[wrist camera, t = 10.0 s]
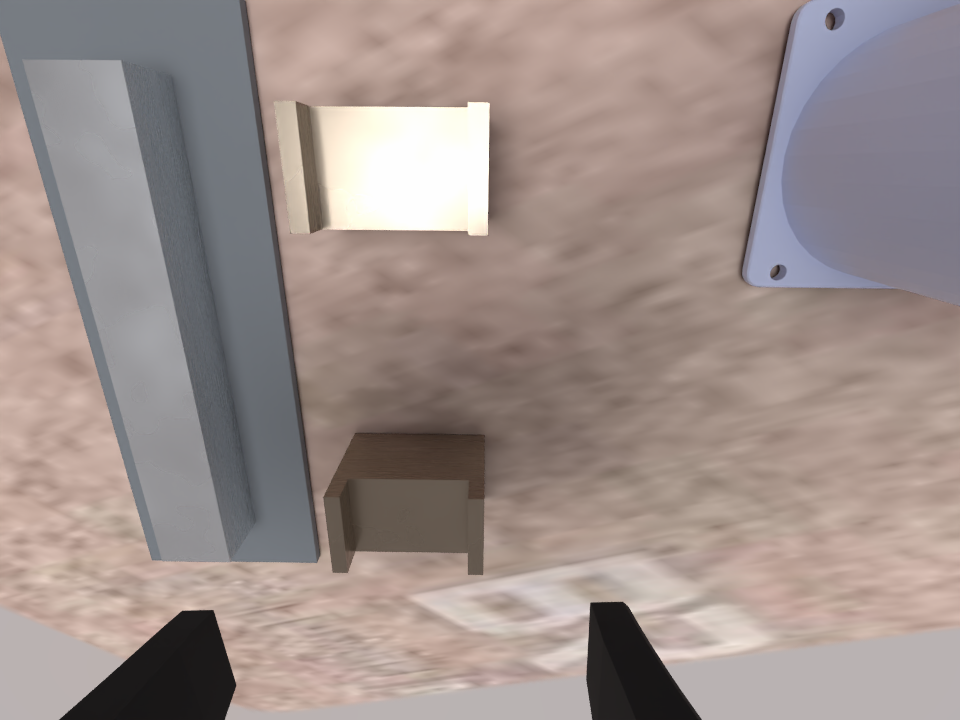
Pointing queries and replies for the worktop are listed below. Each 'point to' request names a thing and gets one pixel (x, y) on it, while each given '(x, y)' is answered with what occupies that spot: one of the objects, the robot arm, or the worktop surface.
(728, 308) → the worktop surface
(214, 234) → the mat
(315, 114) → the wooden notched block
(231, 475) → the rail
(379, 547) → the post
